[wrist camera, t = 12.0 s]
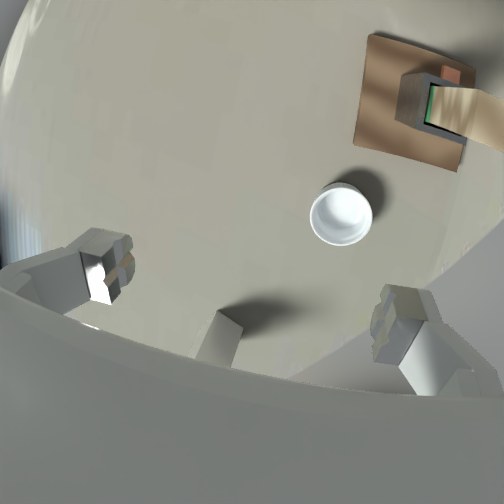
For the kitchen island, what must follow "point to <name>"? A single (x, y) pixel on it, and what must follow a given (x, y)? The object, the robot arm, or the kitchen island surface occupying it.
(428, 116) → the beech post
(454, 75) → the metal sleeve
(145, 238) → the kitchen island surface
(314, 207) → the ramekin
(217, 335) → the soap dispenser
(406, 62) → the stand base
